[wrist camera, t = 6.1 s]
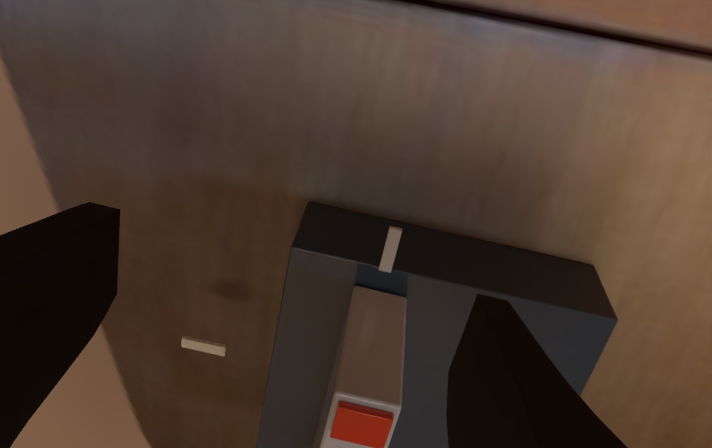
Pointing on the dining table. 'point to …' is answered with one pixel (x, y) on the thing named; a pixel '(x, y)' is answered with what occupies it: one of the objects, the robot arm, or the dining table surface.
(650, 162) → the dining table surface
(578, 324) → the dark blue square slab
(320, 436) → the grey block
